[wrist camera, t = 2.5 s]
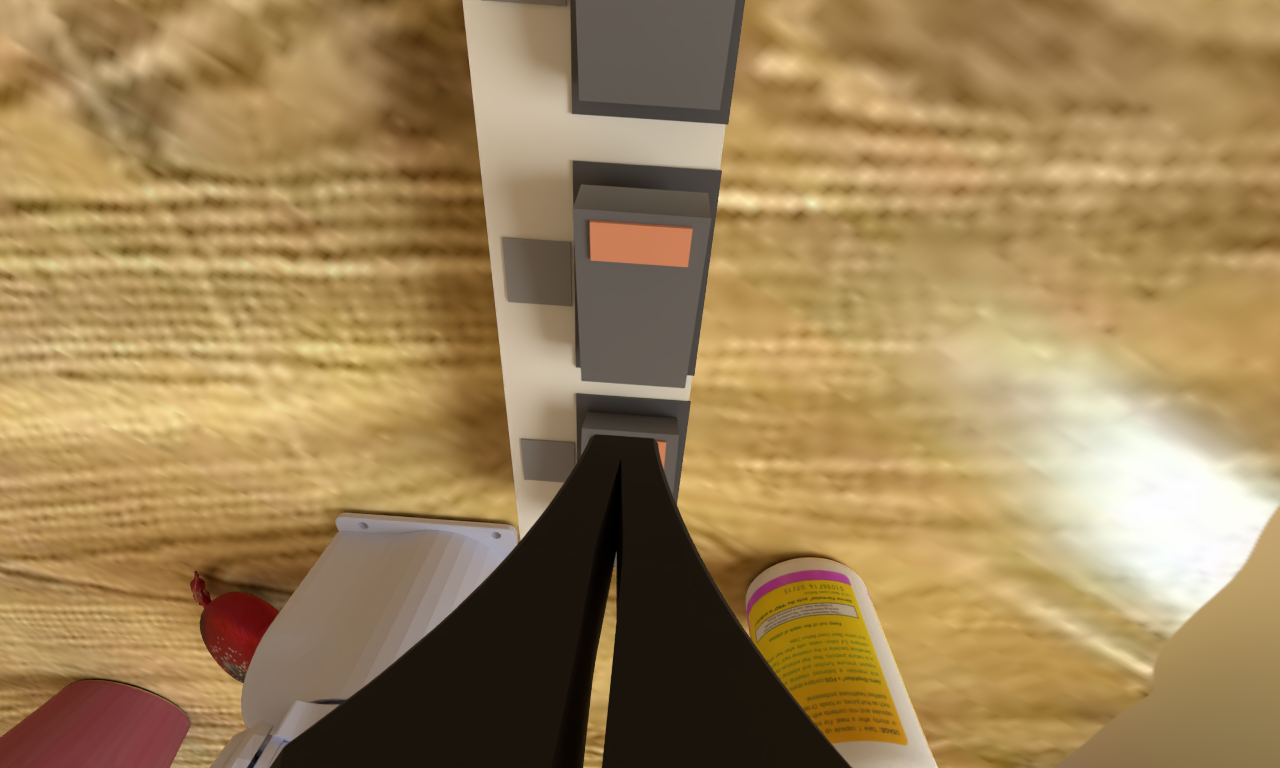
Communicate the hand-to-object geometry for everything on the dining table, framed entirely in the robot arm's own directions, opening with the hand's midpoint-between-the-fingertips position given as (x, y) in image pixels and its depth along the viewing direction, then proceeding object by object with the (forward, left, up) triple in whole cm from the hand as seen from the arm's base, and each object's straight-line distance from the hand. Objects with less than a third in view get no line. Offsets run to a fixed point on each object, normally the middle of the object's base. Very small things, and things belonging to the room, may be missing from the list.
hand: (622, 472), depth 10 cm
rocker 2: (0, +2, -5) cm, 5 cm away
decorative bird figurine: (-27, -22, -10) cm, 36 cm away
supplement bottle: (+10, -17, -10) cm, 22 cm away
